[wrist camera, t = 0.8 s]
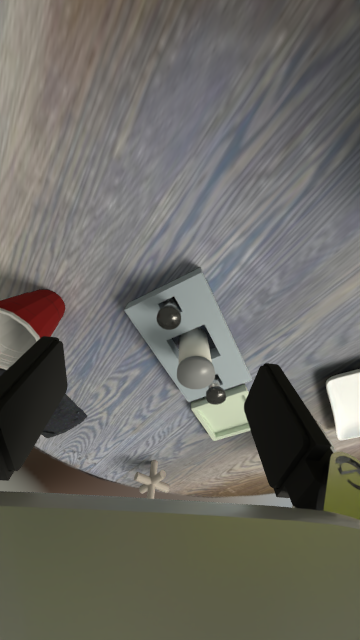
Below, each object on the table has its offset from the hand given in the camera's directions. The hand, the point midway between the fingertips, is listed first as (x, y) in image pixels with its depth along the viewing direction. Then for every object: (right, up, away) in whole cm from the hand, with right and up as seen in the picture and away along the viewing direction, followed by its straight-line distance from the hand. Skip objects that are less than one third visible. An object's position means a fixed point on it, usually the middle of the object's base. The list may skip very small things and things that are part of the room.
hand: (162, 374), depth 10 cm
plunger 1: (-1, +5, +26) cm, 26 cm away
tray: (+12, -19, +40) cm, 46 cm away
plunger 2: (+8, -9, +33) cm, 35 cm away
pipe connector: (-6, -38, +51) cm, 64 cm away
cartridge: (+3, -1, +31) cm, 31 cm away
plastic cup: (-23, +5, +28) cm, 36 cm away
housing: (+3, -1, +31) cm, 31 cm away
